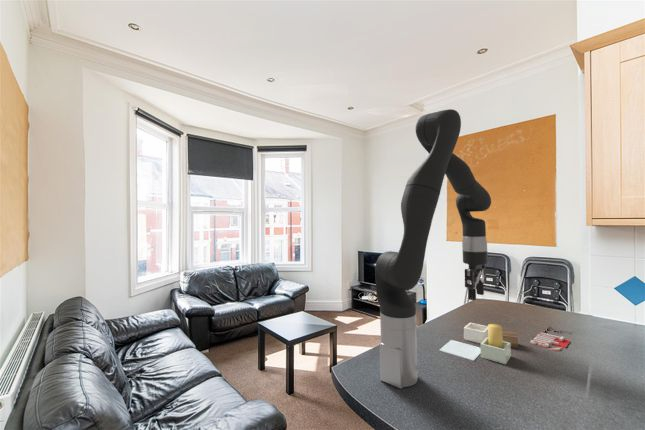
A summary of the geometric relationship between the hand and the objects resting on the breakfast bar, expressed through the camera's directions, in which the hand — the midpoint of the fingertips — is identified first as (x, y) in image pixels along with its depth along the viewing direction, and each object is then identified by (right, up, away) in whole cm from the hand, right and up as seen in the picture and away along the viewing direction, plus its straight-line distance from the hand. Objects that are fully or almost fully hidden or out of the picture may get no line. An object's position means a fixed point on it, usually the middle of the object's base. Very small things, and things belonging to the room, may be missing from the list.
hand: (476, 297), depth 99 cm
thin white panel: (-9, -15, -8) cm, 19 cm away
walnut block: (+8, -15, -5) cm, 17 cm away
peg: (-1, -14, -13) cm, 19 cm away
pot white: (0, -15, 0) cm, 15 cm away
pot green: (-1, -15, -13) cm, 20 cm away
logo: (+26, -15, 0) cm, 30 cm away
